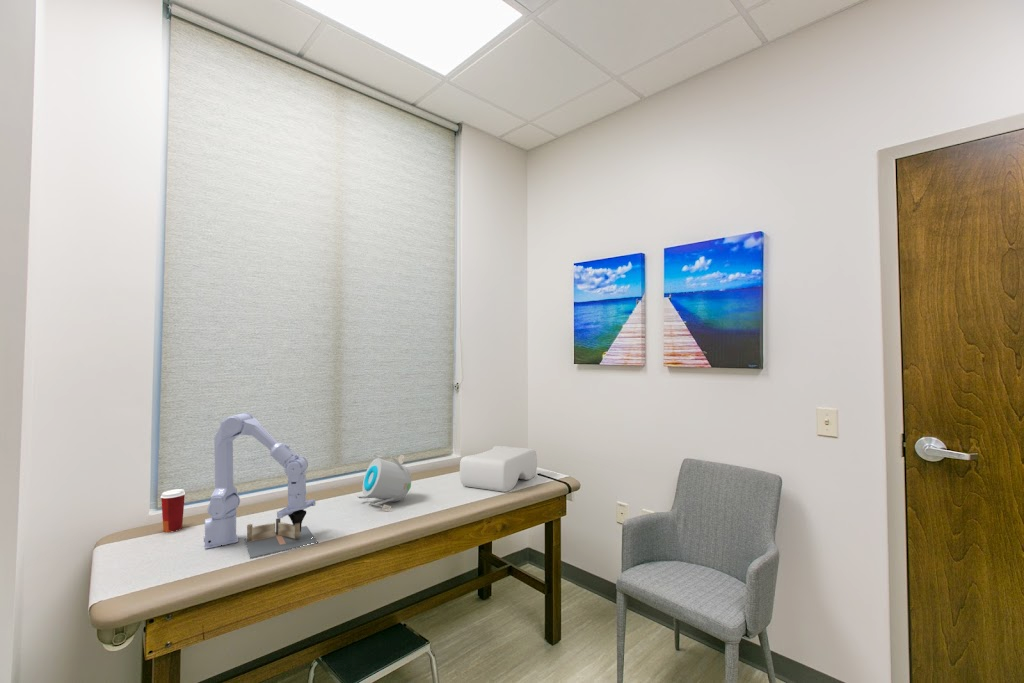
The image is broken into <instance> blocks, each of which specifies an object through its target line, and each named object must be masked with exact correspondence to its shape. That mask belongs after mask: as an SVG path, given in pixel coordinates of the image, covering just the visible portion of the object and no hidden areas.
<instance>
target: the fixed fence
mask: <svg viewBox="0 0 1024 683" xmlns="http://www.w3.org/2000/svg"><path fill="white" fill-rule="evenodd" d="M275 532H276V522H271V523H266V524H261V525H257V526H255V525H254V526H253V523H252V524H251V523H250V524H247V525H246V538H247V542H250V541H253V540H258V539H263V538H267V537H272V536H275Z"/></svg>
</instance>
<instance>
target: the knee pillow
mask: <svg viewBox="0 0 1024 683" xmlns="http://www.w3.org/2000/svg"><path fill="white" fill-rule="evenodd" d="M537 461H538V458H537V451H536V450H535V449H533V448H526V447H515V446H514V447H513V446H505V445H504V446H503V445H494V446H493V447H492V448H491V449H489V450H486V451H483V452H480V453H476V454H471V455H466V456H463V457H462V458H461V459H460V463H459V480H460V484H461V485H462V486H464V487H467V488H473V489H482V490H487V491H497V492H500V493H501V492H502V493H506V492H510V491H512V490H513V489H514V488H515V486H516V484H517V483H518V480H523V481H526V480H527V481H530V480H532V479H534V477H535V476H536V474H537V471H538V469H537V468H538V462H537Z"/></svg>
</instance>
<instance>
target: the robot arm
mask: <svg viewBox="0 0 1024 683" xmlns="http://www.w3.org/2000/svg"><path fill="white" fill-rule="evenodd" d="M240 435H241V436H242V435H243V436H252V437H253V438H255V439H256V440H257V441H258V442H259V443H261V444H262V445H263V446H265V447H266V448H267V449H268V450H269V456H270V457H271V458H272V459H274V460H275V461H276V462H277V463H278V464H279V465H280V466H281V467H283V468H284V474H286V476H287V506H286V507H284V508H282V509H280V510H279V511H276V519H277V518H280V519H283V518H284V517H287V516H288V518H289V519H290V522H292V525H295V523H300V532H301V527H302V524H303V521H304V519H305V516H306V515H307V510H306V509H308V508H311V507H315V506H316V502H317V501H316V499H309V500H307V499H306V498H307V496H306V495H307V487H306V486H307V484H306V483H307V482H306V481H307V479H306V478H307V477H306V476H307V475H306V474H307V472H306V470H308V467H309V462H308V460H307V459H306V458H305V456H302V455H301V456H300V454H298V453H295V452H294V450H292V449H291V448H290V444H288V443H285V442H278V441H277V440H276V439H275V438H274V437H273V436H272V435H271V434H270V433H269V432H268V431H267V430H266V428H264V427H263V425H261V424H260V422H259V420H258V419H257V418H255V417H254V416H253V415H252V414H251V413H249V412H242V413H239V414H235V415H229V416H227V417H225V418H224V419H223V420H222V421H220V426H219V427H218V430H217V431H216V433H215V435H214V440H213V442H214V443H213V444H214V446H213V447H214V490H213V492H212V494H211V495H210V498H209V499H210V501H209V504H208V506H207V514H208V515H209V516H210V517H209V518H205V519H204V536H203V542H204V549H205V550H206V549H211V548H216V547H221V545H222V546H226V545H230V544H235V543H238V542H239V537H238V534H237V508H238V507H239V505H240V504H241V503H240V502H241V499H240V496H239V494H238V488H236V487H235V485H234V443H233V442H234V440H235V439H236V438H238V437H239V436H240Z"/></svg>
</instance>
